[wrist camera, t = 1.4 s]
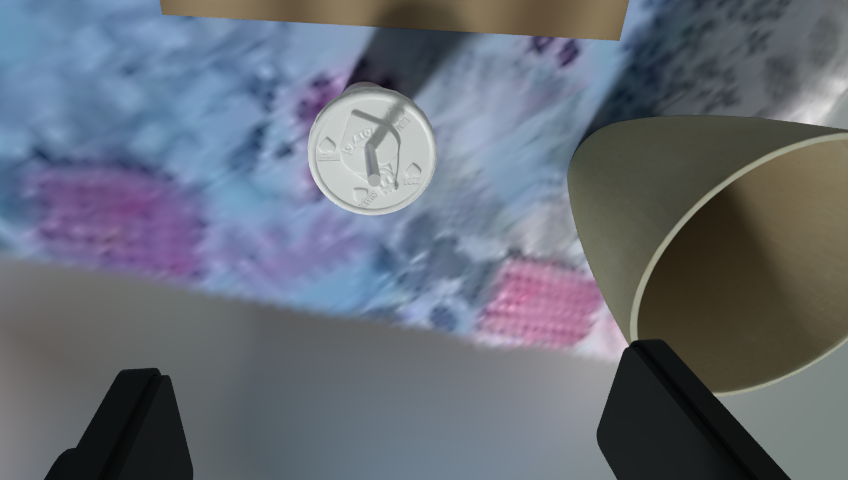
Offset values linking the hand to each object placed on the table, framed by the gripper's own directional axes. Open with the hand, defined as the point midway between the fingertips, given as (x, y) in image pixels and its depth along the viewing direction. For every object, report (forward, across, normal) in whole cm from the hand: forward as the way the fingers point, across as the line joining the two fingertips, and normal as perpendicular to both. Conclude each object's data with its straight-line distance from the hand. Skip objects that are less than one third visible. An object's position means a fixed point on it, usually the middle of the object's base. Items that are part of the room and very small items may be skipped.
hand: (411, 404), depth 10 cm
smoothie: (+25, 0, 0) cm, 25 cm away
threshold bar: (+25, -2, -7) cm, 26 cm away
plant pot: (+25, -19, +4) cm, 32 cm away
